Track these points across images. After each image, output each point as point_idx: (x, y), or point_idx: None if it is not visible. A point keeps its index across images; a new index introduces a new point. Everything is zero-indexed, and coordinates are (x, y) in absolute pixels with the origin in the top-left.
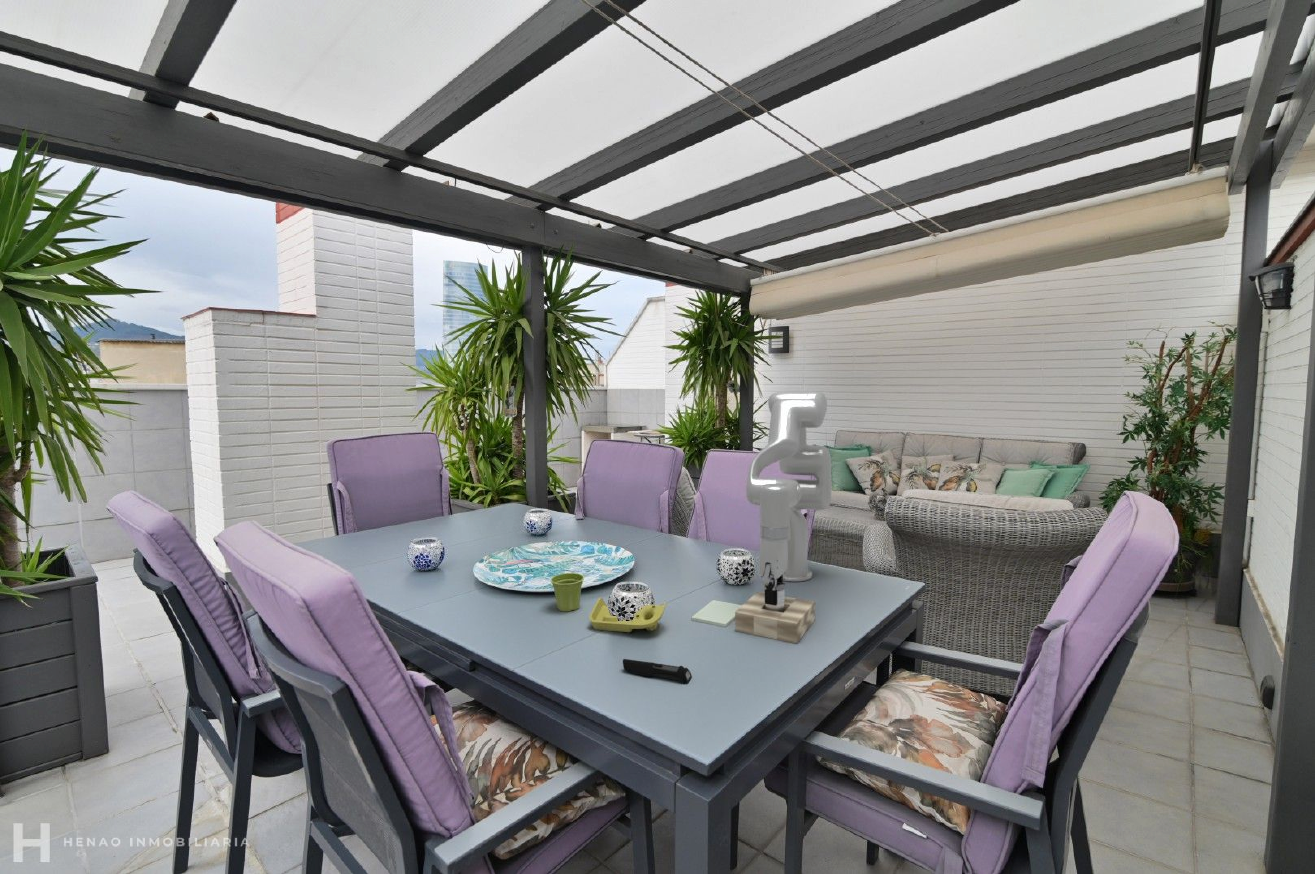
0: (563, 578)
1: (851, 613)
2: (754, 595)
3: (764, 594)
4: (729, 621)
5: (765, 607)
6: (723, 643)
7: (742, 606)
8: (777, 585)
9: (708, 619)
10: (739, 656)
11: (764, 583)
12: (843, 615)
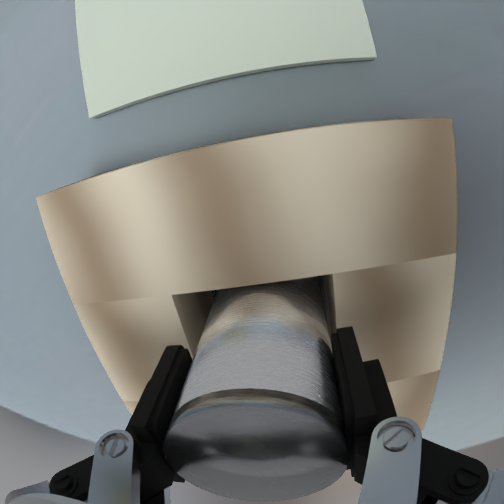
0: None
1: (480, 409)
2: (379, 129)
3: (436, 188)
4: (130, 103)
5: (217, 304)
6: (8, 211)
7: (119, 178)
8: (253, 480)
9: (88, 24)
10: (3, 295)
11: (30, 490)
12: (463, 405)
